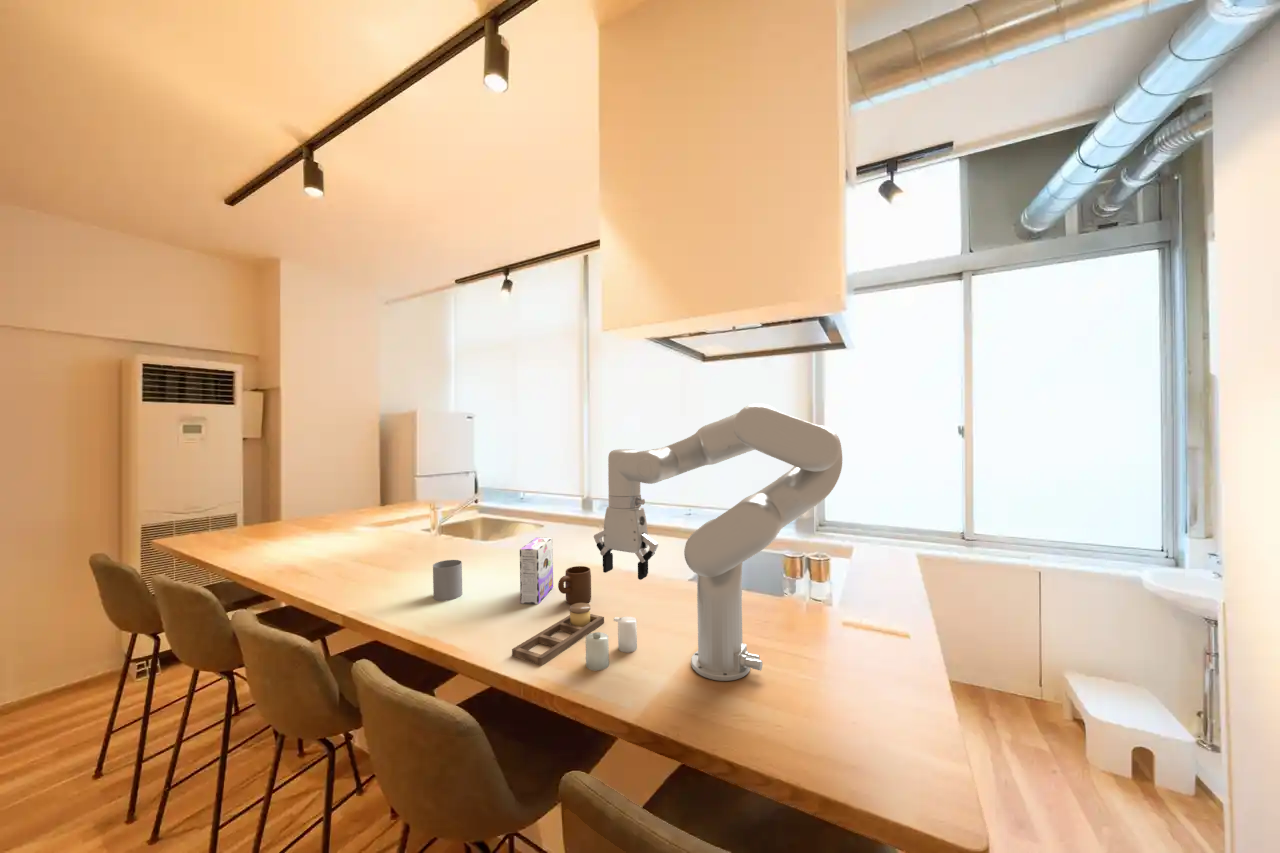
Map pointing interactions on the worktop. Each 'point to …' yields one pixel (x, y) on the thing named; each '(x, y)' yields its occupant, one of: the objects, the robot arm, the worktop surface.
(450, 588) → the cup
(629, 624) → the cylinder
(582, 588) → the mug
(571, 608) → the honey jar
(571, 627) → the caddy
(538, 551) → the candy box
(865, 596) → the worktop surface
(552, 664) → the worktop surface
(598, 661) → the sugar pot
